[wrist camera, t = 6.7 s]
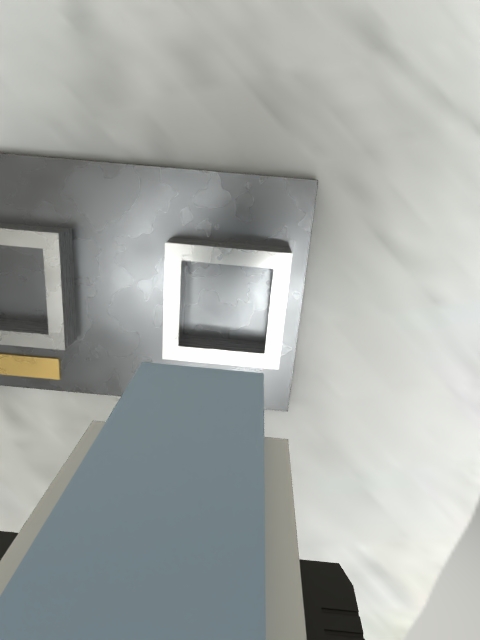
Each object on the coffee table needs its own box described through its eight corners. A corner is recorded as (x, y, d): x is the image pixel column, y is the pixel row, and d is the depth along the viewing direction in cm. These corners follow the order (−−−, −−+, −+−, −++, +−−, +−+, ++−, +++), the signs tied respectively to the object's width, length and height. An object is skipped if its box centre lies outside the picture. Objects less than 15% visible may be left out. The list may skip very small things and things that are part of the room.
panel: (-32, 375, 33) (-59, 394, 30) (-64, 147, 28) (-100, 145, 25) (286, 404, 33) (289, 426, 30) (316, 179, 28) (322, 181, 25)
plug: (141, 488, 16) (-230, 1485, 4) (142, 361, 15) (-507, 1432, 2) (250, 498, 16) (212, 1547, 4) (263, 373, 14) (272, 1540, 2)
